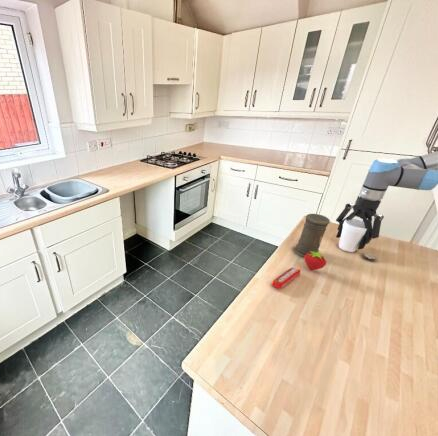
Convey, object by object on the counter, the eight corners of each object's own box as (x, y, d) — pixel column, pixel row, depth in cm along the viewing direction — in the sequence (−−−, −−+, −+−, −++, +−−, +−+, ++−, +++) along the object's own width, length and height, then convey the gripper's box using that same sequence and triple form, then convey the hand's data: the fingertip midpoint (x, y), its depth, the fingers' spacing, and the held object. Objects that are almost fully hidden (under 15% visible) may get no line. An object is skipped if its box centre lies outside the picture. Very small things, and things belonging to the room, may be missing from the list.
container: (297, 257, 107) (309, 222, 98) (292, 245, 114) (302, 212, 106) (320, 260, 105) (334, 224, 96) (313, 248, 112) (326, 214, 104)
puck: (377, 260, 104) (378, 258, 103) (370, 262, 103) (371, 260, 102) (367, 254, 107) (368, 252, 107) (360, 256, 106) (361, 254, 106)
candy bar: (291, 270, 100) (293, 264, 98) (300, 274, 97) (302, 269, 95) (269, 286, 92) (270, 280, 90) (278, 292, 89) (280, 286, 88)
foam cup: (348, 255, 107) (360, 230, 101) (329, 244, 115) (339, 220, 109) (364, 251, 109) (377, 226, 103) (345, 240, 117) (355, 217, 111)
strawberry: (318, 278, 95) (327, 258, 90) (298, 269, 100) (305, 249, 95) (324, 271, 98) (332, 251, 93) (304, 262, 103) (311, 243, 99)
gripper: (337, 189, 108) (321, 232, 119) (394, 210, 90) (368, 258, 100) (349, 187, 110) (332, 229, 121) (407, 207, 91) (381, 254, 102)
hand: (349, 242), depth 111 cm, fingers closed on foam cup, 9 cm apart
